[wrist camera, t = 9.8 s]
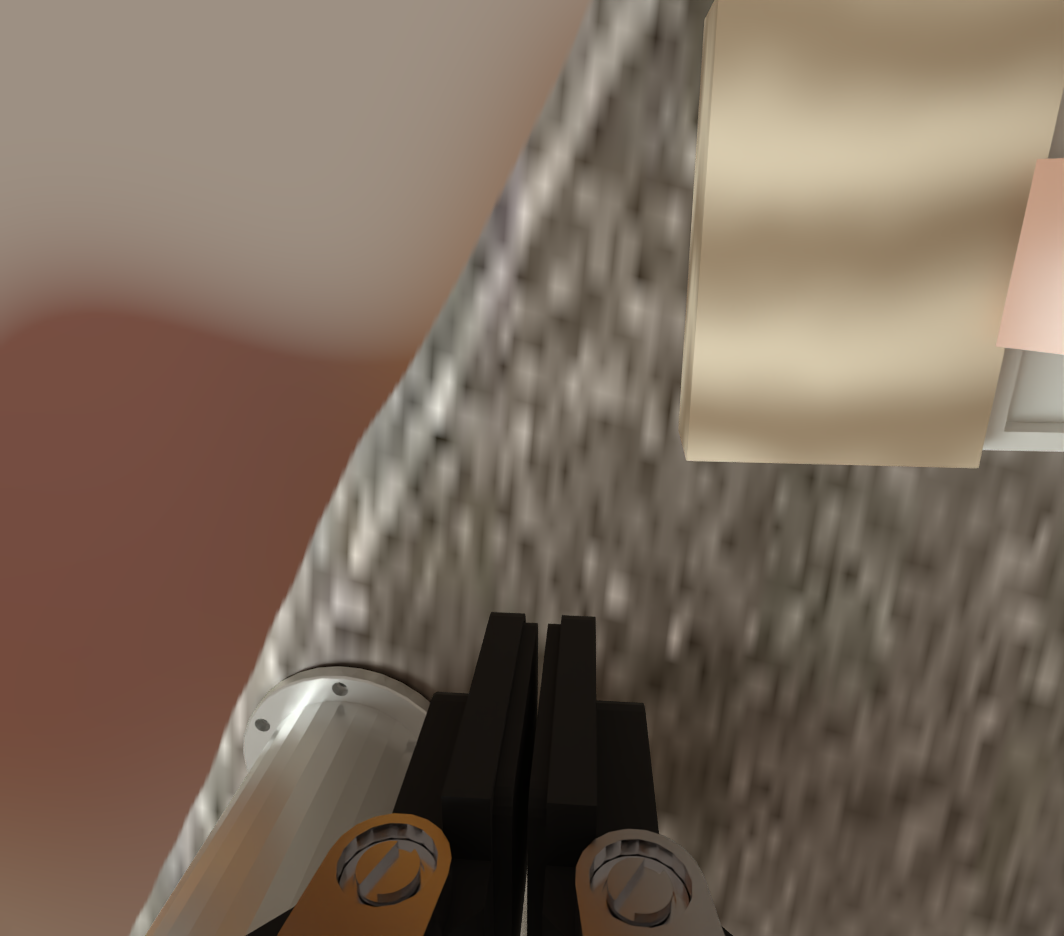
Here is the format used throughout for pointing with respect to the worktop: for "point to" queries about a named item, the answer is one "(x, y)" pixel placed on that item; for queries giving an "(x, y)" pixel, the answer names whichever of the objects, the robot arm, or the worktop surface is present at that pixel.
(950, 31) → the beige rectangular block
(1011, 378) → the box
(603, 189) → the worktop surface
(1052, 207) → the tile
